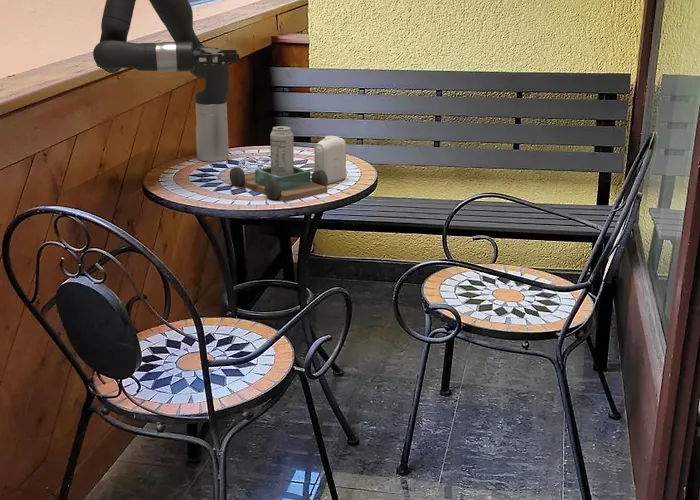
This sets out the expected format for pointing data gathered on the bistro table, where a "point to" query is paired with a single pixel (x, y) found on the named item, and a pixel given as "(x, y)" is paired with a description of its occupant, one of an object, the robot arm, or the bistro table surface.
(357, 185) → the bistro table surface
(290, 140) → the energy drink can
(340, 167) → the photo printer
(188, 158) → the bistro table surface
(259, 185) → the chassis
